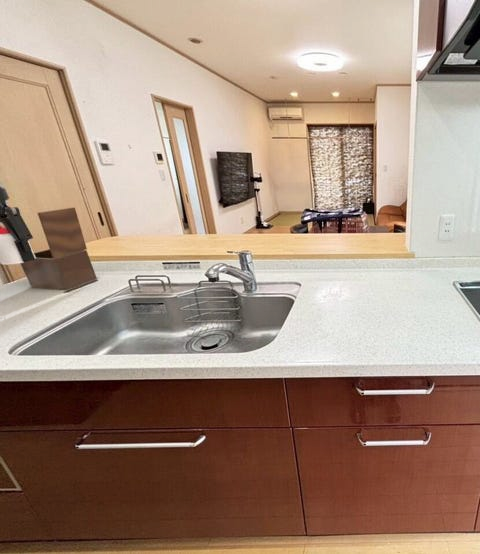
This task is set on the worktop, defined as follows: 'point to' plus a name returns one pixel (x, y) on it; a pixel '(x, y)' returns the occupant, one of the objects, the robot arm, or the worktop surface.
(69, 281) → the chest
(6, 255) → the pill bottle
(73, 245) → the chest lid
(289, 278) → the worktop surface
